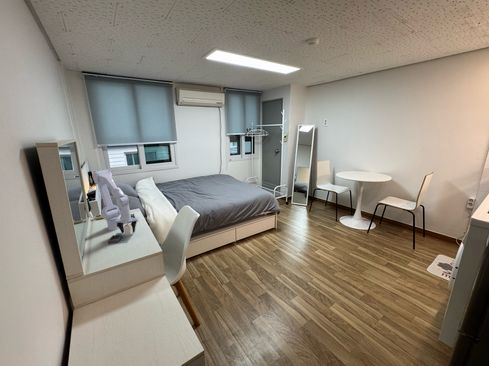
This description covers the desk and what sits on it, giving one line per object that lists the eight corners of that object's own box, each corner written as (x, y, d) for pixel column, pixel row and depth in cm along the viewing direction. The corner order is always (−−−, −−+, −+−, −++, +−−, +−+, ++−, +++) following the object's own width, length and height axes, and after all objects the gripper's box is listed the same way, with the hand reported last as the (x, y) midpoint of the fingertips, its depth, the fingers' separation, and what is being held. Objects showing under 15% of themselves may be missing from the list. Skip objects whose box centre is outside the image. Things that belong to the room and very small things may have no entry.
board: (117, 234, 147) (116, 232, 146) (135, 232, 148) (134, 230, 148) (106, 246, 132) (106, 243, 132) (127, 244, 134) (126, 242, 134)
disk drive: (136, 223, 165) (134, 216, 177) (136, 219, 164) (133, 213, 176) (121, 226, 159) (120, 219, 171) (121, 223, 159) (119, 216, 171)
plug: (127, 232, 146) (126, 223, 145) (132, 232, 147) (130, 222, 145) (125, 235, 143) (123, 225, 141) (130, 235, 143) (128, 225, 141)
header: (113, 238, 140) (112, 235, 139) (122, 237, 141) (122, 234, 140) (108, 243, 133) (107, 240, 133) (118, 242, 134) (117, 240, 133)
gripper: (111, 217, 136) (114, 235, 139) (134, 215, 138) (137, 233, 142) (115, 212, 143) (119, 230, 146) (138, 211, 145) (141, 229, 148)
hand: (128, 231), depth 144 cm, fingers open, 6 cm apart
